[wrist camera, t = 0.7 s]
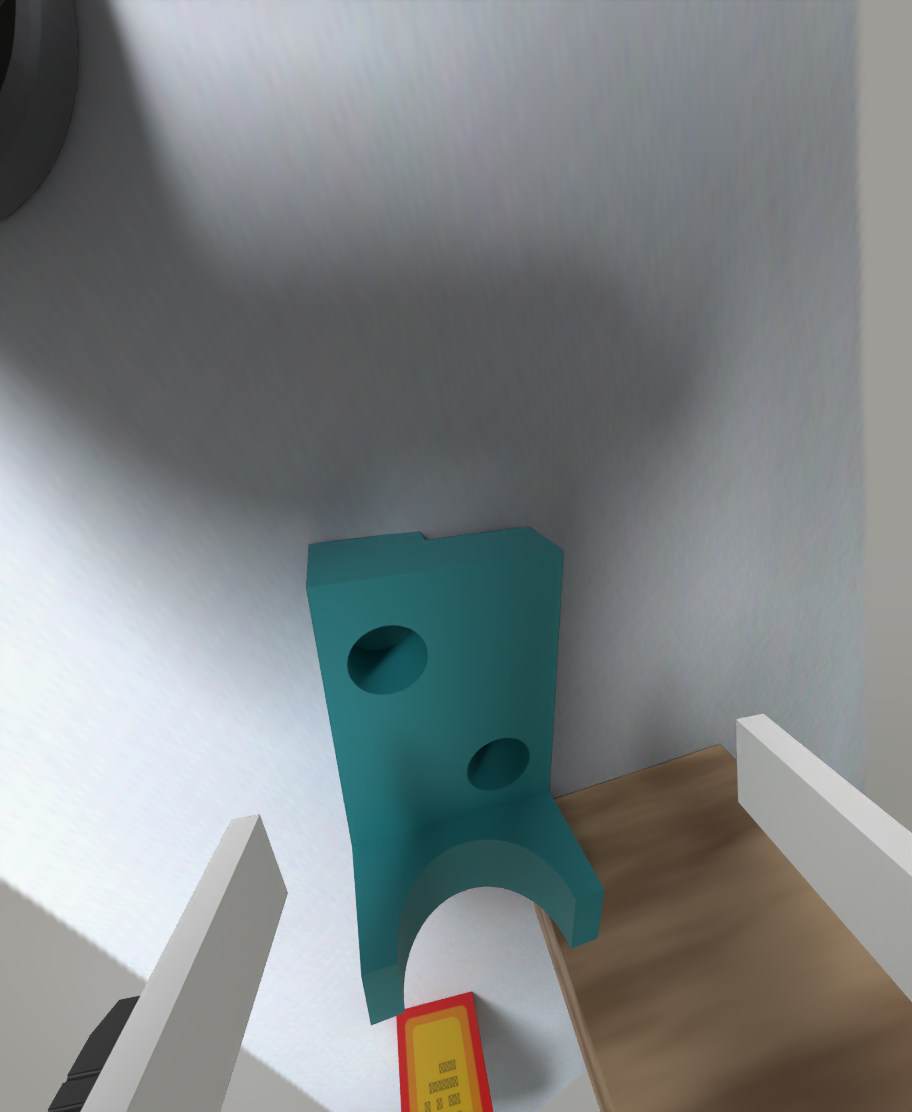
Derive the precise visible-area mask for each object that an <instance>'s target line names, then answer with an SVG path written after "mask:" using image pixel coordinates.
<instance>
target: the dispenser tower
mask: <svg viewBox="0 0 912 1112" xmlns="http://www.w3.org/2000/svg"><path fill="white" fill-rule="evenodd" d="M554 800H555V802H556V804H557V806H558V808H559V809H560V811H561V813H562V815H563V817H564V818H565V820H566V822H567V824H568V825H569V827H570V829H571V831H572V833H573V834H574V836H575V838H576V840H577V842H578V843H579V845H580V847H581V849H582V850H583V852H584V854H585V856H586V858H587V859H588V861H589V863H590V865H591V867H592V868H593V870H594V872H595V874H596V875H597V877H598V879H599V881H600V883H601V884H602V886H603V888H604V898H603V905H602V912H601V920H600V927H599V934H598V939H595V940H593V941H590V942H588V943H585V944H582V945H580V946H577V947H575V948H572V949H571V948H570V946H569V944H568V942H567V940H566V938H565V937H564V935H563V933H562V932H561V930H560V929H559V927H558V926H557V924H556V923H555V922H554V920H553V919H552V918H551V917H550V916H549V915H548V914H547V913H546V912H545V911H544V910H543V909H542V908H541V907H540V906H538V905H537V904H536V903H535V902H534V905H535V909H536V913H537V916H538V919H539V922H540V925H541V928H542V931H543V935H544V938H545V941H546V944H547V947H548V950H549V953H550V956H551V959H552V963H553V966H554V969H555V972H556V975H557V978H558V981H559V984H560V987H561V990H562V994H563V997H564V1000H565V1003H566V1006H567V1009H568V1012H569V1015H570V1018H571V1021H572V1025H573V1028H574V1031H575V1034H576V1037H577V1040H578V1043H579V1046H580V1049H581V1052H582V1056H583V1059H584V1062H585V1065H586V1068H587V1071H588V1074H589V1077H590V1080H591V1083H592V1087H593V1090H594V1093H595V1095H596V1099H597V1102H598V1105H599V1108H600V1111H601V1112H912V1002H911V1001H910V999H909V998H908V997H907V996H906V995H905V994H904V992H903V991H902V990H901V989H900V988H899V987H898V986H897V984H896V983H895V982H894V981H893V980H892V979H891V977H890V976H889V975H888V974H887V973H886V972H885V971H884V969H883V968H882V967H881V966H880V965H879V964H878V962H877V961H876V960H875V959H874V958H873V957H872V956H871V954H870V953H869V952H868V951H867V950H866V949H865V947H864V946H863V945H862V944H861V943H860V942H859V941H858V939H857V938H856V937H855V936H854V935H853V934H852V932H851V931H850V930H849V929H848V928H847V927H846V926H845V924H844V923H843V922H842V921H841V920H840V919H839V917H838V916H837V915H836V914H835V913H834V912H833V911H832V909H831V908H830V907H829V906H828V905H827V904H826V902H825V901H824V900H823V899H822V898H821V897H820V895H819V894H818V893H817V892H816V891H815V890H814V889H813V887H812V886H811V885H810V884H809V883H808V882H807V880H806V879H805V878H804V877H803V876H802V875H801V874H800V872H799V871H798V870H797V869H796V868H795V867H794V865H793V864H792V863H791V862H790V861H789V860H788V859H787V857H786V856H785V855H784V854H783V853H782V852H781V850H780V849H779V848H778V847H777V846H776V845H775V844H774V842H773V841H772V840H771V839H770V838H769V837H768V835H767V834H766V833H765V832H764V831H763V830H762V829H761V827H760V826H759V825H758V824H757V823H756V822H755V820H754V819H753V818H752V817H751V816H750V815H749V814H748V812H747V811H746V810H745V809H744V808H743V807H742V805H741V804H740V803H739V802H738V778H737V761H736V760H735V759H734V758H733V757H732V756H731V755H730V754H729V752H728V751H727V750H726V749H725V748H724V747H723V746H722V745H721V744H719V745H716V746H713V747H710V748H707V749H704V750H701V751H698V752H695V753H692V754H689V755H686V756H683V757H680V758H677V759H674V760H671V761H668V762H665V763H662V764H658V765H655V766H652V767H649V768H646V769H643V770H640V771H637V772H634V773H631V774H628V775H625V776H622V777H619V778H616V779H613V780H610V781H607V782H604V783H601V784H598V785H595V786H592V787H589V788H586V789H583V790H580V791H577V792H574V793H571V794H568V795H565V796H562V797H559V798H556V799H554Z"/></svg>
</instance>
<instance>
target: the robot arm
mask: <svg viewBox="0 0 912 1112" xmlns="http://www.w3.org/2000/svg"><path fill="white" fill-rule="evenodd" d="M76 79H77V32H76V20H75V12H74V4H73V0H0V222H1V221H2V220H3V219H5V218H6V217H8V216H9V215H10V214H12V213H13V212H14V211H16V210H17V209H18V208H19V207H20V206H21V205H22V204H23V203H24V202H26V201H27V199H28V198H29V197H30V196H31V195H32V194H33V193H34V192H35V191H36V189H37V188H38V187H39V185H40V184H41V183H42V181H43V180H44V178H45V177H46V176H47V174H48V172H49V170H50V169H51V167H52V165H53V164H54V162H55V160H56V158H57V155H58V153H59V151H60V149H61V147H62V144H63V141H64V138H65V135H66V132H67V129H68V126H69V122H70V118H71V114H72V109H73V103H74V97H75V91H76ZM736 738H737V778H738V802H739V803H740V804H741V805H742V807H743V808H744V809H745V810H746V811H747V812H748V814H749V815H750V816H751V817H752V818H753V819H754V820H755V822H756V823H757V824H758V825H759V826H760V827H761V829H762V830H763V831H764V832H765V833H766V834H767V835H768V837H769V838H770V839H771V840H772V841H773V842H774V844H775V845H776V846H777V847H778V848H779V849H780V850H781V852H782V853H783V854H784V855H785V856H786V857H787V859H788V860H789V861H790V862H791V863H792V864H793V865H794V867H795V868H796V869H797V870H798V871H799V872H800V874H801V875H802V876H803V877H804V878H805V879H806V880H807V882H808V883H809V884H810V885H811V886H812V887H813V889H814V890H815V891H816V892H817V893H818V894H819V895H820V897H821V898H822V899H823V900H824V901H825V902H826V904H827V905H828V906H829V907H830V908H831V909H832V911H833V912H834V913H835V914H836V915H837V916H838V917H839V919H840V920H841V921H842V922H843V923H844V924H845V926H846V927H847V928H848V929H849V930H850V931H851V932H852V934H853V935H854V936H855V937H856V938H857V939H858V941H859V942H860V943H861V944H862V945H863V946H864V947H865V949H866V950H867V951H868V952H869V953H870V954H871V956H872V957H873V958H874V959H875V960H876V961H877V962H878V964H879V965H880V966H881V967H882V968H883V969H884V971H885V972H886V973H887V974H888V975H889V976H890V977H891V979H892V980H893V981H894V982H895V983H896V984H897V986H898V987H899V988H900V989H901V990H902V991H903V992H904V994H905V995H906V996H907V997H908V998H909V999H910V1001H911V1002H912V833H910V832H909V831H908V830H907V829H906V828H904V827H903V826H902V825H901V824H899V823H898V822H897V821H896V820H894V819H893V818H892V817H891V816H889V815H888V814H887V813H885V812H884V811H883V810H882V809H881V808H880V807H878V806H877V805H876V804H874V803H873V802H872V801H871V800H870V799H868V798H867V797H866V796H865V795H863V794H862V793H861V792H860V791H858V790H857V789H856V788H855V787H853V786H852V785H851V784H850V783H849V782H847V781H846V780H845V779H844V778H842V777H841V776H840V775H839V774H837V773H836V772H835V771H834V770H832V769H831V768H830V767H829V766H827V765H826V764H825V763H824V762H823V761H821V760H820V759H819V758H818V757H816V756H815V755H814V754H813V753H811V752H810V751H809V750H808V749H806V748H805V747H804V746H803V745H801V744H800V743H799V742H798V741H796V740H795V739H794V738H793V737H792V736H790V735H789V734H788V733H787V732H785V731H784V730H783V729H782V728H780V727H779V726H778V725H777V724H775V723H774V722H773V721H772V720H770V719H769V718H768V717H767V716H765V715H764V714H760V715H755V716H750V717H745V718H740V719H736ZM287 894H288V892H287V889H286V886H285V884H284V881H283V878H282V875H281V873H280V870H279V867H278V864H277V861H276V859H275V856H274V853H273V850H272V847H271V845H270V842H269V839H268V836H267V833H266V831H265V828H264V825H263V822H262V819H261V817H260V814H259V815H254V816H249V817H244V818H239V819H234V820H231V822H230V824H229V826H228V828H227V829H226V831H225V833H224V835H223V837H222V839H221V841H220V843H219V845H218V847H217V849H216V851H215V853H214V855H213V857H212V858H211V860H210V862H209V864H208V866H207V868H206V870H205V872H204V874H203V876H202V878H201V880H200V882H199V884H198V886H197V887H196V889H195V891H194V893H193V895H192V897H191V899H190V901H189V903H188V905H187V907H186V909H185V911H184V913H183V915H182V916H181V918H180V920H179V922H178V924H177V926H176V928H175V930H174V932H173V934H172V936H171V938H170V940H169V942H168V943H167V945H166V947H165V949H164V951H163V953H162V955H161V957H160V959H159V961H158V963H157V965H156V967H155V969H154V971H153V972H152V974H151V976H150V978H149V980H148V982H147V984H146V986H145V988H144V990H143V992H142V994H141V996H136V997H131V998H126V999H122V1000H119V1001H118V1002H117V1003H116V1005H115V1006H114V1007H113V1008H112V1009H111V1011H110V1012H109V1013H108V1014H107V1015H106V1017H105V1018H104V1019H103V1020H102V1022H101V1023H100V1024H99V1025H98V1026H97V1028H96V1029H95V1030H94V1031H93V1032H92V1034H91V1035H90V1036H89V1038H88V1040H87V1042H86V1043H85V1045H84V1047H83V1049H82V1050H81V1052H80V1054H79V1056H78V1057H77V1059H76V1061H75V1063H74V1065H73V1066H72V1068H71V1070H70V1072H69V1073H68V1078H67V1081H66V1082H65V1083H63V1084H62V1086H61V1088H60V1089H59V1091H58V1093H57V1094H56V1096H55V1098H54V1100H53V1101H52V1103H51V1105H50V1107H49V1109H48V1112H220V1111H221V1107H222V1104H223V1101H224V1097H225V1094H226V1091H227V1088H228V1085H229V1082H230V1078H231V1075H232V1072H233V1069H234V1065H235V1062H236V1059H237V1056H238V1052H239V1049H240V1046H241V1043H242V1039H243V1036H244V1033H245V1030H246V1027H247V1023H248V1020H249V1017H250V1014H251V1010H252V1007H253V1004H254V1001H255V997H256V994H257V991H258V988H259V984H260V981H261V978H262V975H263V971H264V968H265V965H266V962H267V959H268V955H269V952H270V949H271V946H272V942H273V939H274V936H275V933H276V929H277V926H278V923H279V920H280V916H281V913H282V910H283V907H284V903H285V900H286V897H287Z"/></svg>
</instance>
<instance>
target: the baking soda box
mask: <svg viewBox="0 0 912 1112" xmlns="http://www.w3.org/2000/svg"><path fill="white" fill-rule="evenodd" d="M396 1018H397V1037H398V1056H399V1076H400V1095H401V1112H493V1107H492V1102H491V1096H490V1090H489V1085H488V1079H487V1073H486V1068H485V1062H484V1056H483V1051H482V1045H481V1039H480V1034H479V1028H478V1022H477V1017H476V1011H475V1005H474V1000H473V994H472V992H468V993H465V994H461V995H457V996H453V997H449V998H446V999H442V1000H438V1001H434V1002H430V1003H427V1004H423V1005H419V1006H415V1007H411V1008H408V1009H405V1013H402V1014H399V1015H397V1016H396Z"/></svg>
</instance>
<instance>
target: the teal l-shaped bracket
mask: <svg viewBox="0 0 912 1112" xmlns="http://www.w3.org/2000/svg"><path fill="white" fill-rule="evenodd" d="M563 552H564V551H563V550H562V549H560V548H559V547H558V546H556V545H555V544H553V543H552V542H550V541H549V540H548V539H546V538H545V537H543V536H542V535H540V534H539V533H538V532H536V531H535V530H533V529H532V528H530V527H521V528H514V529H506V530H498V531H490V532H482V533H474V534H467V535H459V536H451V537H443V538H435V539H427V540H425V539H424V537H423V536H422V534H421V533H420V532H409V533H399V534H388V535H380V536H372V537H364V538H356V539H348V540H339V541H331V542H323V543H315V544H309V549H308V565H307V582H306V590H307V596H308V601H309V607H310V612H311V618H312V624H313V629H314V635H315V641H316V646H317V652H318V658H319V663H320V669H321V674H322V680H323V686H324V691H325V697H326V703H327V708H328V714H329V720H330V725H331V731H332V736H333V742H334V748H335V753H336V759H337V765H338V770H339V776H340V782H341V787H342V793H343V798H344V804H345V810H346V815H347V821H348V827H349V832H350V838H351V844H352V852H353V866H354V879H355V893H356V907H357V921H358V935H359V949H360V963H361V976H362V982H363V987H364V992H365V997H366V1002H367V1007H368V1012H369V1017H370V1022H371V1025H373V1024H376V1023H379V1022H381V1021H384V1020H386V1019H389V1018H392V1017H394V1016H397V1015H399V1014H402V1013H405V1008H404V977H405V971H406V965H407V961H408V957H409V953H410V950H411V947H412V945H413V942H414V940H415V938H416V936H417V933H418V932H419V930H420V928H421V927H422V925H423V923H424V922H425V921H426V919H427V918H428V917H429V915H430V914H431V913H432V912H433V911H434V910H435V909H436V908H437V907H438V906H439V905H440V904H441V903H443V902H444V901H445V900H447V899H448V898H450V897H452V896H453V895H455V894H457V893H459V892H462V891H464V890H467V889H471V888H476V887H484V886H491V887H500V888H505V889H509V890H512V891H515V892H517V893H519V894H521V895H523V896H525V897H527V898H529V899H530V900H532V901H533V902H535V903H536V904H537V905H538V906H540V907H541V908H542V909H543V910H544V911H545V912H546V913H547V914H548V915H549V916H550V917H551V918H552V919H553V920H554V922H555V923H556V924H557V926H558V927H559V929H560V930H561V932H562V933H563V935H564V937H565V938H566V940H567V942H568V944H569V946H570V948H571V949H572V948H575V947H577V946H580V945H582V944H585V943H588V942H590V941H593V940H595V939H598V934H599V927H600V920H601V912H602V905H603V898H604V888H603V886H602V884H601V883H600V881H599V879H598V877H597V875H596V874H595V872H594V870H593V868H592V867H591V865H590V863H589V861H588V859H587V858H586V856H585V854H584V852H583V850H582V849H581V847H580V845H579V843H578V842H577V840H576V838H575V836H574V834H573V833H572V831H571V829H570V827H569V825H568V824H567V822H566V820H565V818H564V817H563V815H562V813H561V811H560V809H559V808H558V806H557V804H556V802H555V800H554V799H553V797H552V795H551V793H550V792H549V789H550V773H551V756H552V739H553V722H554V705H555V688H556V671H557V654H558V637H559V620H560V603H561V586H562V569H563Z"/></svg>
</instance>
